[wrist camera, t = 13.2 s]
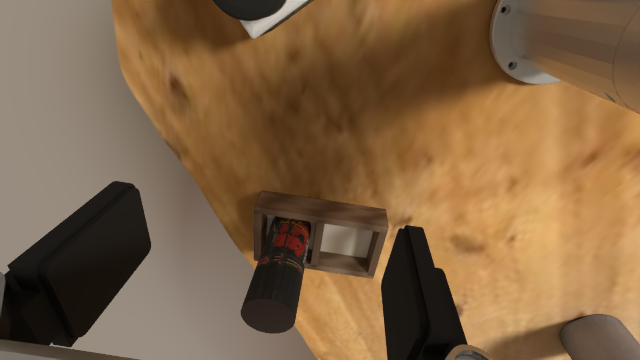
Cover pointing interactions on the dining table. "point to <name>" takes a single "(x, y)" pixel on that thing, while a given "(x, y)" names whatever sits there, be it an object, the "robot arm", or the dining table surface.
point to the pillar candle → (599, 339)
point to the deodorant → (278, 277)
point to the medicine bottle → (261, 13)
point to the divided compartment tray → (327, 232)
